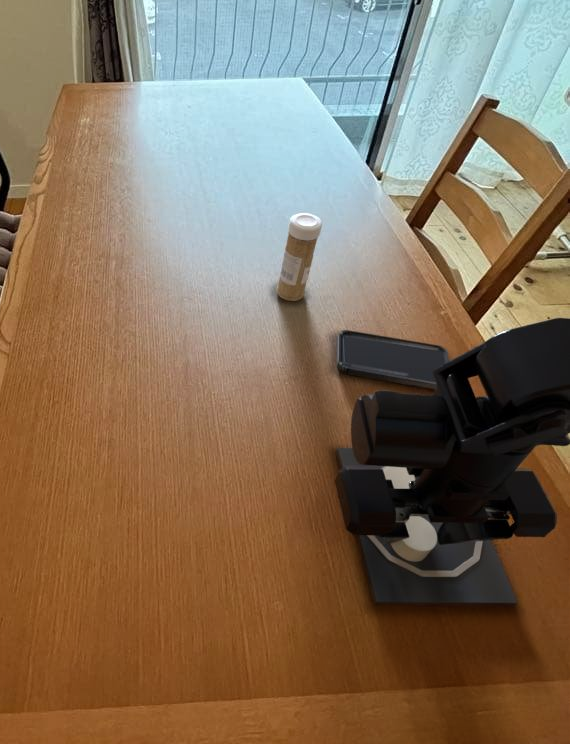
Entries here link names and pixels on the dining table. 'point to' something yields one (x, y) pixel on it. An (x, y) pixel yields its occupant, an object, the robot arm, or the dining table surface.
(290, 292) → the sprinkles bottle
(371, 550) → the slate
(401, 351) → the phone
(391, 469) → the white round puck
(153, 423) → the dining table surface
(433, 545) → the cream round box
